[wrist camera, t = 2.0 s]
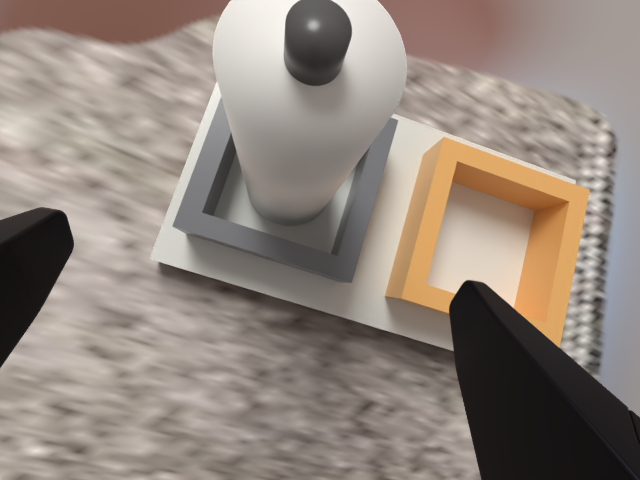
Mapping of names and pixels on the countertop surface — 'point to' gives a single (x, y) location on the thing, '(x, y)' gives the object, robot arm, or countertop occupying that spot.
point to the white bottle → (305, 95)
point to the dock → (386, 231)
